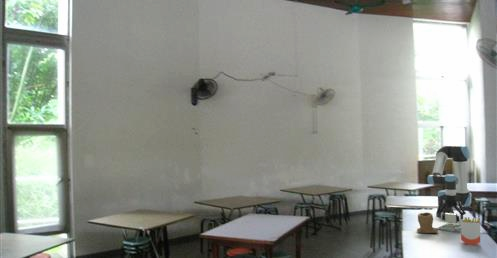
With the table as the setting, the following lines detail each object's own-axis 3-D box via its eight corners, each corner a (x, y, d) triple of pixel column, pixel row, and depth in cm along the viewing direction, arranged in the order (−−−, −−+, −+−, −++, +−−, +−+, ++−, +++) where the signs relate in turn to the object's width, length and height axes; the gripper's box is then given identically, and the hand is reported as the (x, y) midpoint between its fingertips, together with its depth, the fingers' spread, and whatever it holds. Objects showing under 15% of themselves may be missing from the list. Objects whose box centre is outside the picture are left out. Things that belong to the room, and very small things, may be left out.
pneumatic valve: (459, 229, 315) (458, 213, 315) (442, 227, 320) (442, 212, 321) (459, 227, 319) (459, 212, 320) (442, 226, 325) (442, 211, 325)
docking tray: (444, 226, 331) (444, 222, 331) (466, 228, 320) (466, 225, 320) (436, 229, 319) (436, 226, 319) (459, 232, 308) (458, 229, 308)
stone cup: (417, 234, 306) (417, 213, 306) (416, 230, 317) (415, 211, 317) (440, 235, 301) (439, 214, 301) (437, 231, 312) (437, 211, 313)
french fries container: (461, 242, 281) (460, 216, 281) (479, 243, 277) (478, 216, 277) (462, 244, 276) (461, 217, 277) (480, 245, 273) (479, 218, 273)
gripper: (432, 193, 326) (433, 220, 326) (466, 196, 309) (467, 225, 308) (435, 192, 331) (436, 219, 331) (469, 195, 314) (470, 223, 314)
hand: (451, 222), depth 320 cm, fingers open, 13 cm apart
